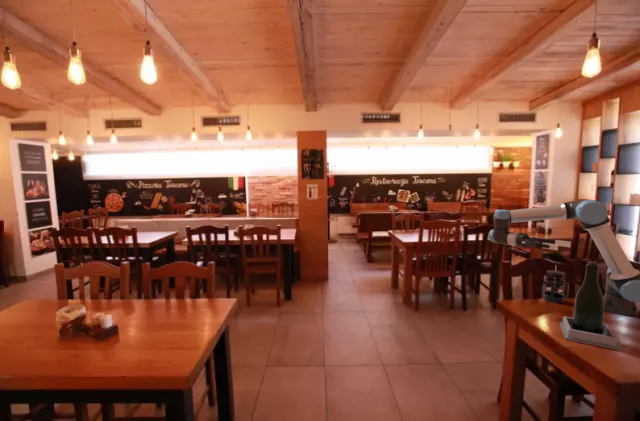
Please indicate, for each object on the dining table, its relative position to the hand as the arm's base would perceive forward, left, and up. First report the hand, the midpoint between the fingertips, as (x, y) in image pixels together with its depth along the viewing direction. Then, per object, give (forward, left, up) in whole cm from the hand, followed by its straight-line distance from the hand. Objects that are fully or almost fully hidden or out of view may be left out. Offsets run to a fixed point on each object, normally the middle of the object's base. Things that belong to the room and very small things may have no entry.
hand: (564, 246), depth 155 cm
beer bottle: (-9, +13, -37) cm, 40 cm away
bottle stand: (-9, +14, -38) cm, 41 cm away
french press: (-2, -32, -38) cm, 50 cm away
